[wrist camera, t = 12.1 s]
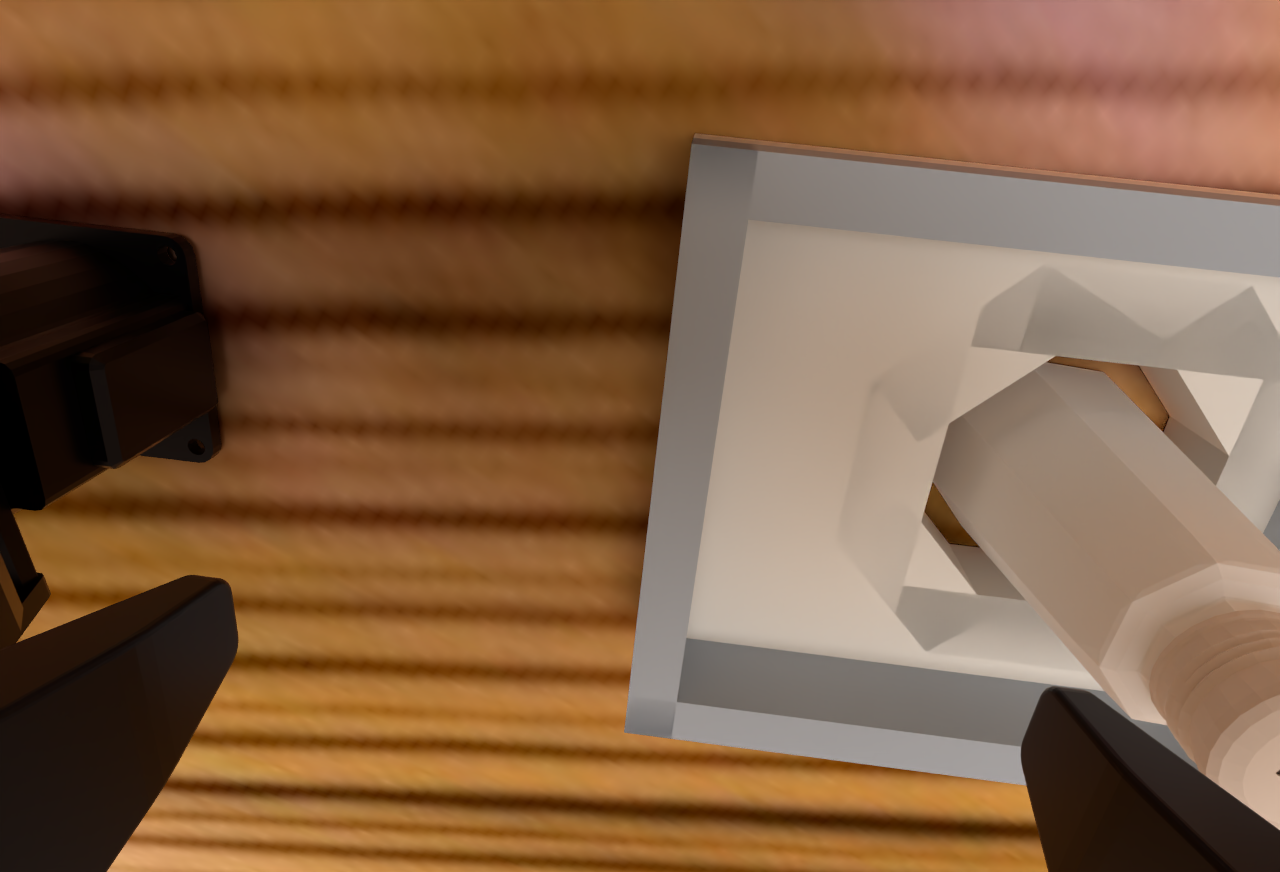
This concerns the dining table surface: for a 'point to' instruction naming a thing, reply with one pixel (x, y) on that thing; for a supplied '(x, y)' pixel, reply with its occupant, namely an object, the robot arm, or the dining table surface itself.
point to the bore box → (911, 433)
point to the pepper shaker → (1130, 564)
